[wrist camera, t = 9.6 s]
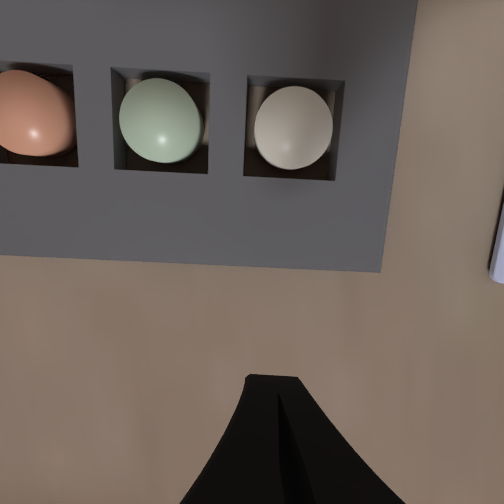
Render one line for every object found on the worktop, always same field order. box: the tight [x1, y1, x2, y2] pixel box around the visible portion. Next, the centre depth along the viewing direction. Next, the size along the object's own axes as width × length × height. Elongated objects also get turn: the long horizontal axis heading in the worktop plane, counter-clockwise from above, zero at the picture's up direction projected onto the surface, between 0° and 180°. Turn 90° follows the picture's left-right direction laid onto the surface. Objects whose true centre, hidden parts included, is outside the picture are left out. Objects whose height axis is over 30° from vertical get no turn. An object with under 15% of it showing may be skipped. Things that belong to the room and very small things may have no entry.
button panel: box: [0, 0, 418, 273], centre depth 14 cm, size 20×12×2 cm, turn 87°
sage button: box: [119, 78, 204, 164], centre depth 14 cm, size 3×3×2 cm
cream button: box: [254, 86, 333, 170], centre depth 14 cm, size 3×3×2 cm
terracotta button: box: [0, 70, 77, 158], centre depth 14 cm, size 3×3×2 cm
